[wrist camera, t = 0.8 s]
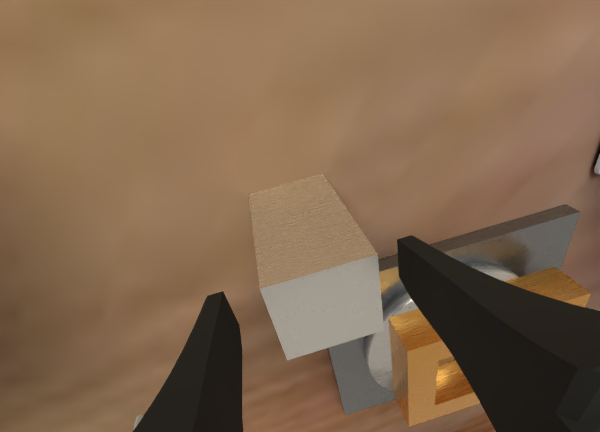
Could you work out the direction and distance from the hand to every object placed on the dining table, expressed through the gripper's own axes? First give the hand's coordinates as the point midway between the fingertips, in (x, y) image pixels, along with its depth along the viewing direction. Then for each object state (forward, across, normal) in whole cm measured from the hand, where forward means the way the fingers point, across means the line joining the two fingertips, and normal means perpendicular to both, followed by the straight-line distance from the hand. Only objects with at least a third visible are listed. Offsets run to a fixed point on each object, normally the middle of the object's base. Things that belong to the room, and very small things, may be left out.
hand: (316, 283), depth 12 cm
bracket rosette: (+5, -9, +13) cm, 17 cm away
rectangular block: (+5, 0, 0) cm, 5 cm away
